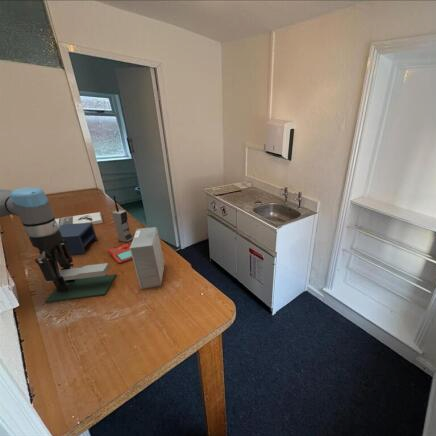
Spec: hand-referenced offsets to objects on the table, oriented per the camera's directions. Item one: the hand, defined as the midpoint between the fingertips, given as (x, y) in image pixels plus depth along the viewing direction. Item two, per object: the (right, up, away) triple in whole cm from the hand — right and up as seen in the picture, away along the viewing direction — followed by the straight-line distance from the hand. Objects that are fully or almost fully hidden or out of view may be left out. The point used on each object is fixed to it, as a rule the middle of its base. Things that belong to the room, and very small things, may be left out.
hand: (67, 286), depth 89 cm
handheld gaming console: (+5, +9, +24) cm, 26 cm away
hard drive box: (+26, +1, +11) cm, 29 cm away
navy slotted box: (-20, +12, +26) cm, 35 cm away
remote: (+5, +4, 0) cm, 7 cm away
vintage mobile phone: (-2, +14, +35) cm, 38 cm away
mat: (+5, -1, +2) cm, 5 cm away
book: (-41, +23, +48) cm, 67 cm away
